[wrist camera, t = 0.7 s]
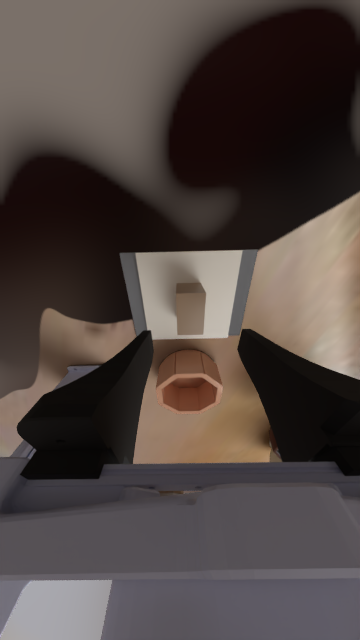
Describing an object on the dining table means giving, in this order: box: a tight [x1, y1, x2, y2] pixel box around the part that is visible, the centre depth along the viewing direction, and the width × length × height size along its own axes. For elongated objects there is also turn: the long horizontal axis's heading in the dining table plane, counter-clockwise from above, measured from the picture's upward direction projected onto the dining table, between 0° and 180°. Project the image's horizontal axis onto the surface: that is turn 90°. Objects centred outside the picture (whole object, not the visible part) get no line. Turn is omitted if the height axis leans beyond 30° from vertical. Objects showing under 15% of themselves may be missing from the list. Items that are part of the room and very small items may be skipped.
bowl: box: [156, 350, 223, 414], centre depth 24 cm, size 10×10×5 cm
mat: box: [120, 249, 258, 336], centre depth 19 cm, size 16×12×1 cm
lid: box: [135, 250, 243, 340], centre depth 17 cm, size 12×12×5 cm
